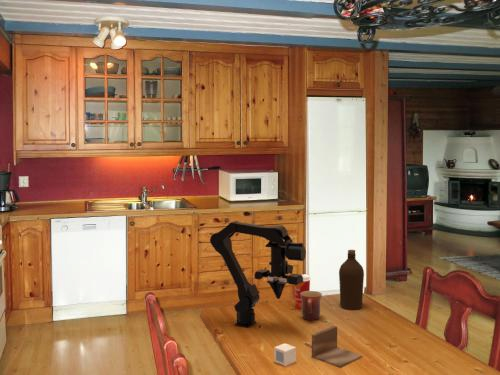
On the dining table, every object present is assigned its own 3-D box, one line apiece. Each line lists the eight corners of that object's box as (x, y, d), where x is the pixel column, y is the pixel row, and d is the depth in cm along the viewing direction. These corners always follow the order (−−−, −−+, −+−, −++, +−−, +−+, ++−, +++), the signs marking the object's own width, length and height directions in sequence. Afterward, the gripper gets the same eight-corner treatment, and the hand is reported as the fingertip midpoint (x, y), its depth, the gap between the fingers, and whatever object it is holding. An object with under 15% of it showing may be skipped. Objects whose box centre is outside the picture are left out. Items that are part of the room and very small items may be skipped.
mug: (301, 314, 227) (301, 290, 226) (322, 315, 225) (322, 291, 225) (298, 323, 216) (298, 298, 215) (320, 325, 214) (320, 299, 213)
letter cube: (274, 362, 180) (274, 347, 179) (284, 357, 183) (284, 343, 183) (285, 366, 176) (285, 351, 175) (295, 361, 179) (295, 347, 179)
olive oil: (347, 311, 230) (348, 253, 227) (334, 304, 239) (334, 249, 237) (368, 308, 234) (369, 251, 231) (354, 301, 243) (354, 246, 241)
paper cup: (291, 305, 239) (291, 274, 238) (308, 304, 240) (308, 273, 239) (294, 310, 232) (294, 278, 230) (312, 310, 232) (312, 278, 231)
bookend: (311, 357, 183) (311, 334, 182) (333, 347, 191) (334, 325, 190) (340, 368, 174) (340, 344, 174) (362, 357, 182) (362, 334, 182)
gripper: (309, 257, 209) (309, 296, 211) (267, 252, 219) (268, 290, 221) (296, 263, 200) (296, 304, 202) (253, 257, 210) (253, 297, 211)
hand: (278, 298), depth 209 cm, fingers closed
